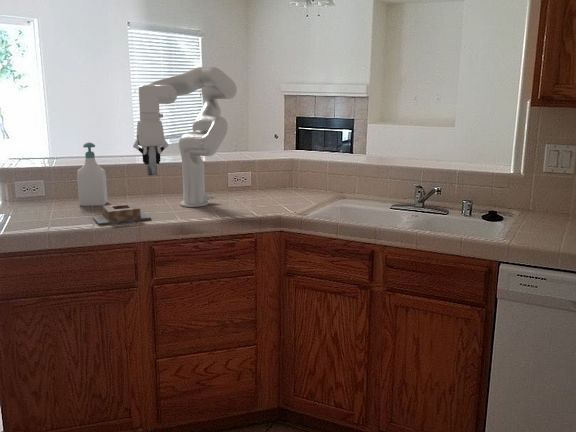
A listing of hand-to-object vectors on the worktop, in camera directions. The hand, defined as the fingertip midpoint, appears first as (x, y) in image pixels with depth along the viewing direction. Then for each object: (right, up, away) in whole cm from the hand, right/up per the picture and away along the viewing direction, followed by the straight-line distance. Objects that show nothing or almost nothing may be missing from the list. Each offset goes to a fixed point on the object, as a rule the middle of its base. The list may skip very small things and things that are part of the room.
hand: (151, 163), depth 217 cm
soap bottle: (-33, -15, +28) cm, 46 cm away
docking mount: (-12, -22, -1) cm, 25 cm away
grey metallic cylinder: (0, -4, +1) cm, 4 cm away
